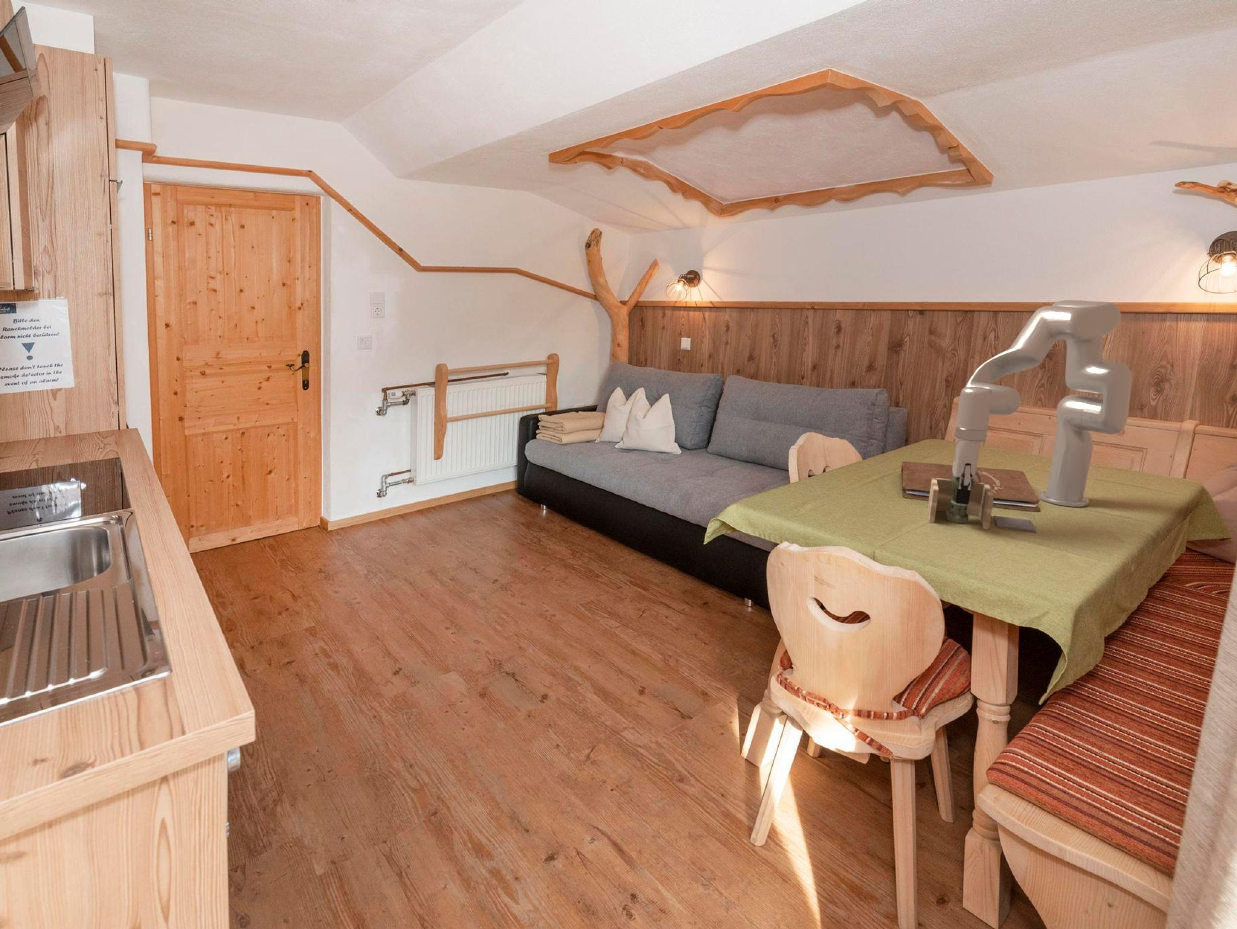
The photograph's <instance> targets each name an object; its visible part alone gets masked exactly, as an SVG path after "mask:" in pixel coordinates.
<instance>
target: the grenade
mask: <svg viewBox="0 0 1237 929" xmlns="http://www.w3.org/2000/svg"><path fill="white" fill-rule="evenodd" d="M964 469H965V468H964ZM975 476H977V478H978V481H979V482H978V481H976V480H975V478H974V479H972V478H971V479H972V480H971V487H970V489H971V488H972V487H974V484H975V483H977V484H979V483H982V478H981V476H980V475H979V473H978V472H977V471H976V473H975ZM962 477H964V476H963V474H962ZM950 480H951V488H952V502H951V508H950V510H949V511H946V516H945V517H946V518H945V519H946V520H947V521H949V522H950V523H956V524H967V523H968V522H969V514H967V513H966V512H967V507H966V506H968V505H966V504H958V503H956V502H955V499H956V493H957V488H958V487H959V477H957V478H955V477H954V475H953V476H952V478H951V479H950ZM962 481H964V480H962ZM952 504H953V505H952Z"/></svg>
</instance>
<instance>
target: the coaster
mask: <svg viewBox="0 0 1237 929" xmlns="http://www.w3.org/2000/svg"><path fill="white" fill-rule="evenodd" d="M993 521H994V522H995V525H996V528H997V529H1003V530H1004V529H1005V530H1011V531H1012V530H1013V531H1018V532H1019V531H1020V532H1027V533H1034V534H1035V533H1036V534H1037V529H1036V527H1035V526H1034V523H1033V522H1032V520H1031V519H1025V518H1024V519H1023V518H1018V517H1017V518H1016V517H1008V516H999V515H993Z"/></svg>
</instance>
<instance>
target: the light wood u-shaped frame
mask: <svg viewBox="0 0 1237 929" xmlns="http://www.w3.org/2000/svg"><path fill="white" fill-rule="evenodd" d="M951 480H952V479H949V478H948V479H947V478H939V477H931V482H930V487H929V488H930V489H929V496H928V501H927V514H928V523H932V524H933V523H935V518H936V512H938V511H939V512H947V511H949V510H950V508H951V502H952V488H951ZM970 490H971V492H970V498H969V504H968V506H966V507H967V512H966V513H967V514H968V515H971V516H972V515H973V516H979V519H980V522H981V525H982V528H983V529H984V530H987V531H988V530H989V529H990V524H991V517H992V511H993V504H994V500H995V499H994V498H995V496H994V494H993V491H992V489H991V486H990V484H989V483H986V482H981V483H979V484H977V483H975V484H974V487H972V488H971V489H970ZM952 505H953V504H952Z"/></svg>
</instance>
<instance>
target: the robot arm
mask: <svg viewBox="0 0 1237 929" xmlns="http://www.w3.org/2000/svg"><path fill="white" fill-rule="evenodd" d="M1121 315H1122V314H1121V310H1120V307H1119V306H1118V305H1116V304H1115V303H1113V302H1110V301H1097V300H1095V301H1093V300H1078V299H1077V300H1076V299H1074V300H1073V299H1067V300H1066V299H1065V300H1060V301H1058V300H1057V301H1056V302H1054V303H1053V304H1052V305H1046V306H1042V307H1040V308H1037V309H1036V310H1035V311H1034V312H1033V314H1032V315H1031V317H1029V320H1028V321H1027V322H1026V323H1025V325H1024V327H1023V328H1022V330H1021V331H1020V333H1018V335H1017V337H1016V338H1015V340H1014V341H1013V343H1012V344H1011V346H1010V347H1009V348H1008V349H1005V350H1004V351H1002V352H999V353H997V355H995V356H993V357H992V358H990V359H987V361H985V362H984V363H981V365H980V366H978V367H977V369H976V370H975V371H974V372H973V373H972V375H971V377H969V380H968V382H967V383H966V385H965V387H963V388H961V390H960V393H959V400H958V407H957V414H956V422H955V429H954V434H953V439H954V440H956V441H957V442H956V446H955V451H954V458H953V464H952V467H951V468H952V469H951V470H952V472H951V473H952V475H953V476H954V477H955V478H957V477H959V487H958V488H957V493H956V499H955V502H956V503H958V504H966V505H968V504H969V498H970V492H971V490H970V487H971V480H972V479H975V476H976V474H975V473H976V472H977V469H978V462H979V455H980V448H981V447H980V446H981V444H983V443H986V441H987V435H988V429H989V422H990V421H989V420H990V416H993V415H995V416H1010V415H1011V414H1014V413H1015V412H1016V411H1017V410H1018V409H1019V407H1020V406H1021V402H1022V398H1021V395H1020V393H1019V391H1018V390H1016V389H1015V388H1014V387H1013V388H1012V387H1010V386H1004V385H999V384H994V383H995V382H996V381H997V380H999V379H1001V378H1003V377H1005V376H1008V375H1011V374H1014V373H1021V372H1023V371H1027V370H1028V371H1029V370H1031V369H1035V368H1037V367H1038V366H1039V365H1041V363H1042V362H1043V361H1044V359H1045V358H1046V356H1047V354H1048V353H1049V352H1050V350H1051V349H1052V347H1053V346H1054V344H1055V343H1056V342H1057V341H1058V340H1064V341H1065V343H1066V356H1065V358H1066V359H1065V360H1066V361H1065V372H1064V374H1065V378H1064V379H1065V385H1066V387H1067V388H1069V389H1070V390H1071V391H1074V392H1078V393H1079V392H1080V393H1084V394H1085V393H1086V394H1093V395H1099V396H1101V397H1097V396H1091V395H1084V394H1069V395H1067V396H1064V397H1063V398H1061V400H1060V401H1059V402H1058V404H1057V407H1056V433H1055V434H1056V436H1055V442H1054V448H1053V452H1052V459H1051V463H1050V469H1049V473H1048V474H1049V475H1048V480H1047V486H1046V490H1045V491H1041V492H1040V493H1039V498H1040V500H1042V501H1043V502H1047V503H1050V504H1054V505H1059V506H1064V507H1075V508H1077V507H1078V508H1079V507H1080V508H1081V507H1087V506H1088V505H1089V503H1090V500H1089V499H1088V498H1087V497H1085V492H1086V485H1087V480H1088V476H1089V470H1090V465H1091V460H1092V455H1093V450H1094V441H1093V437H1092V435H1091V432H1095V433H1100V434H1105V435H1115V434H1118V433H1119V434H1120V433H1121V432H1122V431H1123V430H1124V428H1125V426H1126V424H1127V421H1128V418H1129V414H1130V412H1129V411H1130V402H1131V392H1132V381H1133V380H1132V378H1133V376H1132V372H1131V370H1130V368H1129V366H1128V365H1127V364H1125V363H1124V362H1120V361H1113V360H1105V359H1104V356H1103V350H1104V342H1103V340H1104V339H1103V336H1107V335H1109V334H1110V333H1112V332H1113V331H1115V330H1116V329H1117V327H1118V326H1119V325H1120V322H1121V318H1122V316H1121ZM964 468H965V469H964ZM962 474H963V476H964V477H962ZM971 478H972V479H971ZM962 480H964V481H962Z"/></svg>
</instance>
